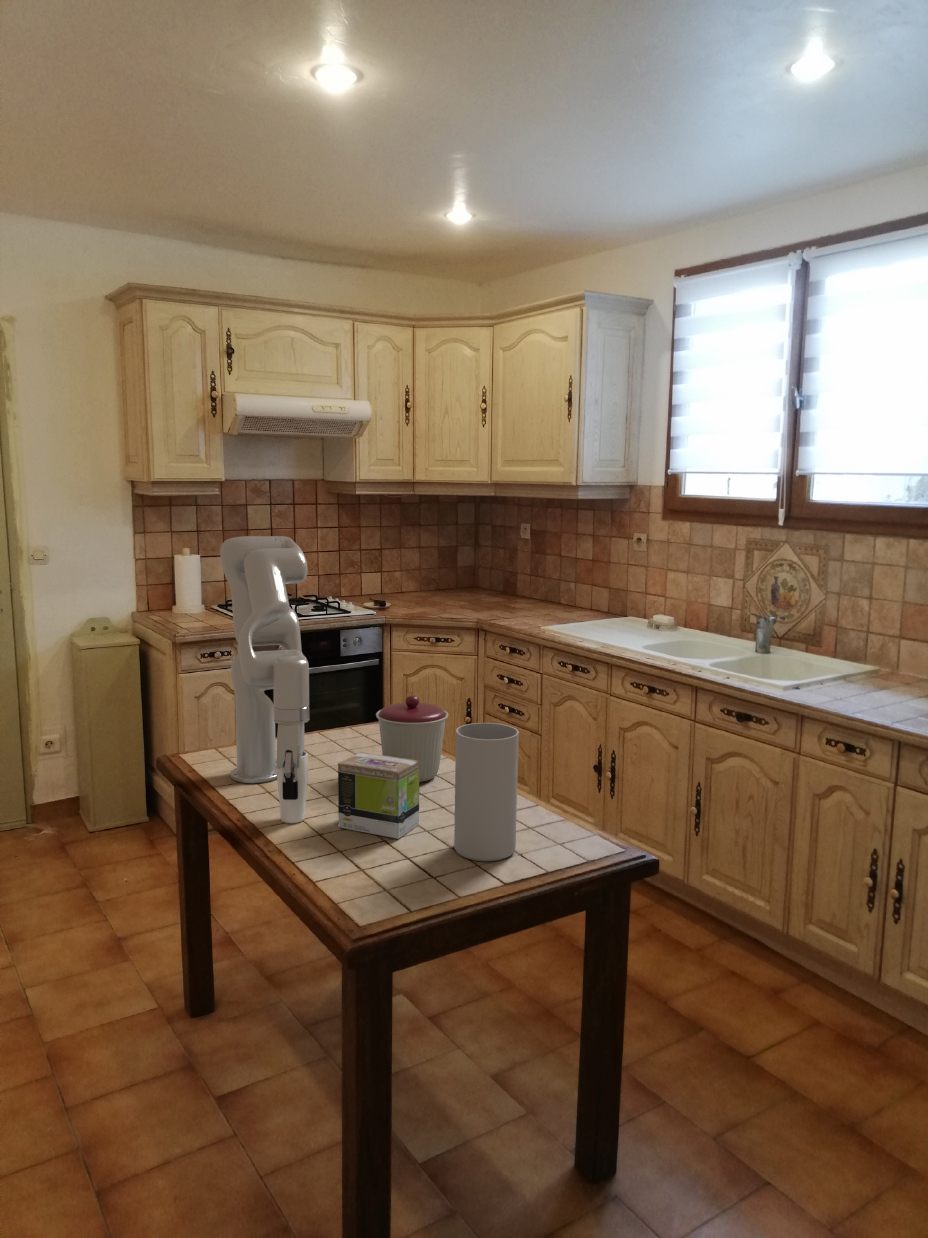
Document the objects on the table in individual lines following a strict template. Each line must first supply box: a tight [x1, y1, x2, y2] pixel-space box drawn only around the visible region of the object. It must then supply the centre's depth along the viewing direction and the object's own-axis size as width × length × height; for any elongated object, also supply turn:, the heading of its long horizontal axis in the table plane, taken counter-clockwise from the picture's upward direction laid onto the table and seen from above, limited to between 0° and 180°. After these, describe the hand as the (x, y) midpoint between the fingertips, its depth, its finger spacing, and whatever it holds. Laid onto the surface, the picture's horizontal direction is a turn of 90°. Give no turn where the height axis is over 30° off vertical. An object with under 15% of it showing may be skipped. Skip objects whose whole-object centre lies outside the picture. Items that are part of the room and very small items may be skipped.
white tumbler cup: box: [276, 750, 309, 824], centre depth 197 cm, size 7×7×15 cm
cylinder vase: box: [453, 722, 520, 862], centre depth 182 cm, size 12×12×25 cm
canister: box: [375, 695, 449, 783], centre depth 226 cm, size 18×18×21 cm
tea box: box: [337, 751, 420, 840], centre depth 194 cm, size 15×10×15 cm, turn 65°
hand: (292, 792), depth 197 cm, fingers closed on white tumbler cup, 6 cm apart
